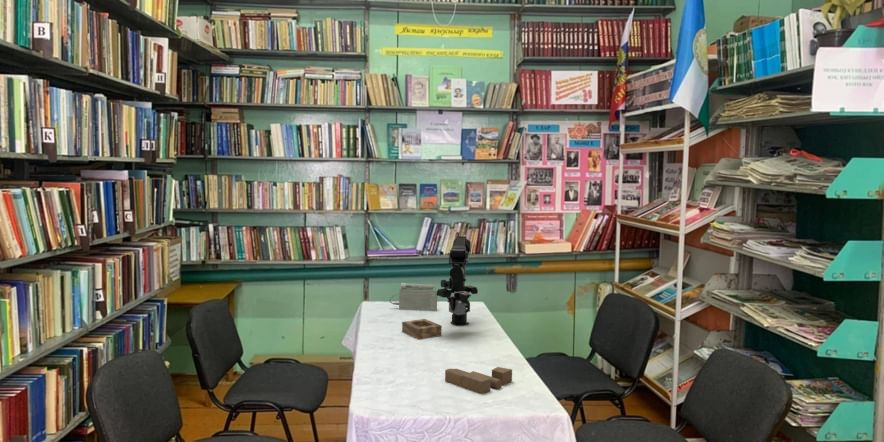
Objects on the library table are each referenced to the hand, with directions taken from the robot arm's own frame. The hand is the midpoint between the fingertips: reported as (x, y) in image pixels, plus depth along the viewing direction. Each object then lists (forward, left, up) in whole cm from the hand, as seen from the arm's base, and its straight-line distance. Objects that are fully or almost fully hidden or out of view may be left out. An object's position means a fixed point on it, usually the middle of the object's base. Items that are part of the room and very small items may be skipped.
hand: (457, 310), depth 270 cm
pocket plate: (+13, -9, -11) cm, 19 cm away
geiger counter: (-7, -50, -11) cm, 52 cm away
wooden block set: (+27, +53, -12) cm, 61 cm away
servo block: (0, 0, -1) cm, 1 cm away
